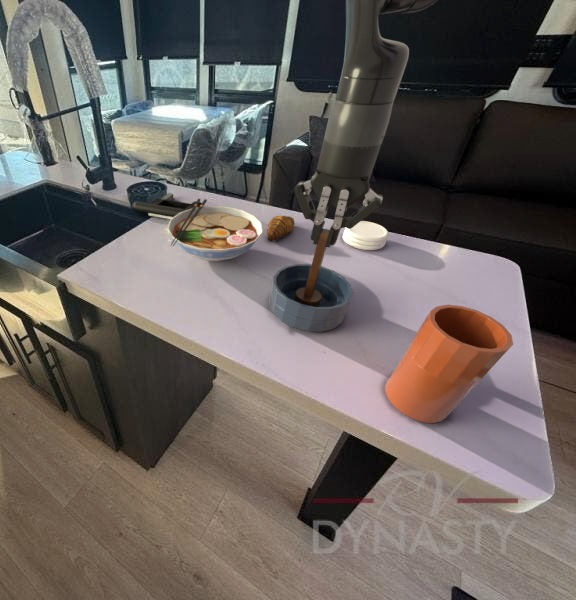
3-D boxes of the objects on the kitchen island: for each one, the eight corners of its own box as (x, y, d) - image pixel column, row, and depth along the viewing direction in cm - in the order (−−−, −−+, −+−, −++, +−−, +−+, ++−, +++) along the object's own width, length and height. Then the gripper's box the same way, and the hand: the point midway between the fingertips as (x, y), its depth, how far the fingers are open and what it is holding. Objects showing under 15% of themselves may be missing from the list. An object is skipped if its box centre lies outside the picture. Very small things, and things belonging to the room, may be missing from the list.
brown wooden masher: (321, 301, 66) (343, 228, 56) (315, 314, 63) (337, 240, 53) (297, 294, 68) (314, 223, 58) (290, 306, 65) (307, 234, 55)
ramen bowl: (249, 288, 71) (253, 256, 66) (152, 270, 78) (149, 239, 72) (266, 235, 89) (270, 206, 84) (186, 224, 96) (186, 197, 90)
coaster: (333, 235, 88) (337, 223, 85) (364, 229, 90) (368, 217, 88) (361, 254, 80) (365, 241, 78) (393, 246, 83) (399, 234, 80)
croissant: (278, 220, 96) (281, 204, 93) (301, 226, 92) (305, 209, 89) (257, 239, 88) (259, 222, 84) (281, 246, 84) (284, 229, 81)
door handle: (153, 188, 111) (128, 204, 100) (208, 196, 105) (189, 214, 93) (153, 198, 113) (129, 214, 102) (208, 206, 107) (189, 225, 95)
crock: (448, 390, 50) (509, 318, 41) (447, 433, 45) (516, 363, 35) (388, 368, 54) (431, 297, 44) (381, 405, 48) (427, 334, 39)
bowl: (350, 300, 67) (359, 276, 63) (333, 344, 58) (343, 320, 54) (282, 279, 73) (287, 256, 70) (257, 316, 64) (261, 292, 60)
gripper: (296, 138, 47) (276, 243, 58) (405, 150, 41) (360, 265, 52) (311, 125, 51) (290, 225, 63) (411, 135, 45) (368, 244, 57)
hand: (322, 243), depth 57 cm, fingers closed on brown wooden masher, 1 cm apart
